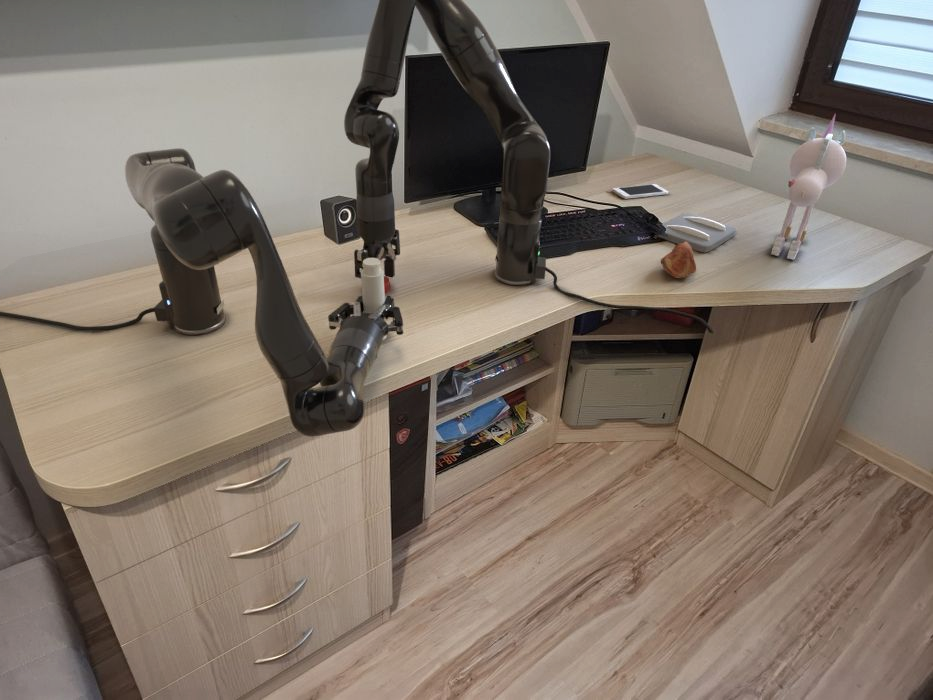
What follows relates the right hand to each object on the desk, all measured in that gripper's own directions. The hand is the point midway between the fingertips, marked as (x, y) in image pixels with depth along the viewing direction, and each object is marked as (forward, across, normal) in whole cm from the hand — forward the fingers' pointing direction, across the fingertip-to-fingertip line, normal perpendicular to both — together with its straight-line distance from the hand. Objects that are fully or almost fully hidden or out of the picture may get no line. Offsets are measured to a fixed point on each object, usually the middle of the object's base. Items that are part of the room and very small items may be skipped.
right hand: (379, 284), depth 137 cm
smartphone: (+1, -90, +37) cm, 97 cm away
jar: (+1, +16, +9) cm, 19 cm away
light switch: (+1, -65, +57) cm, 86 cm away
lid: (-1, 0, 0) cm, 1 cm away
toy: (+2, -75, +80) cm, 110 cm away
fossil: (+1, -39, +56) cm, 69 cm away
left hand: (-5, +14, +8) cm, 17 cm away
